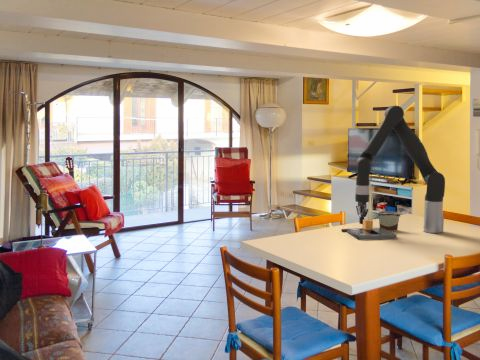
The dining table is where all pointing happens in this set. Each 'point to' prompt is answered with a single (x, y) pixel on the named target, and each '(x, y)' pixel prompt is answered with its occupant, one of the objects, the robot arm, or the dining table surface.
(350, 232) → the cord
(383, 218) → the food container
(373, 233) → the panel
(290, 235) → the dining table surface
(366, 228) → the lever
